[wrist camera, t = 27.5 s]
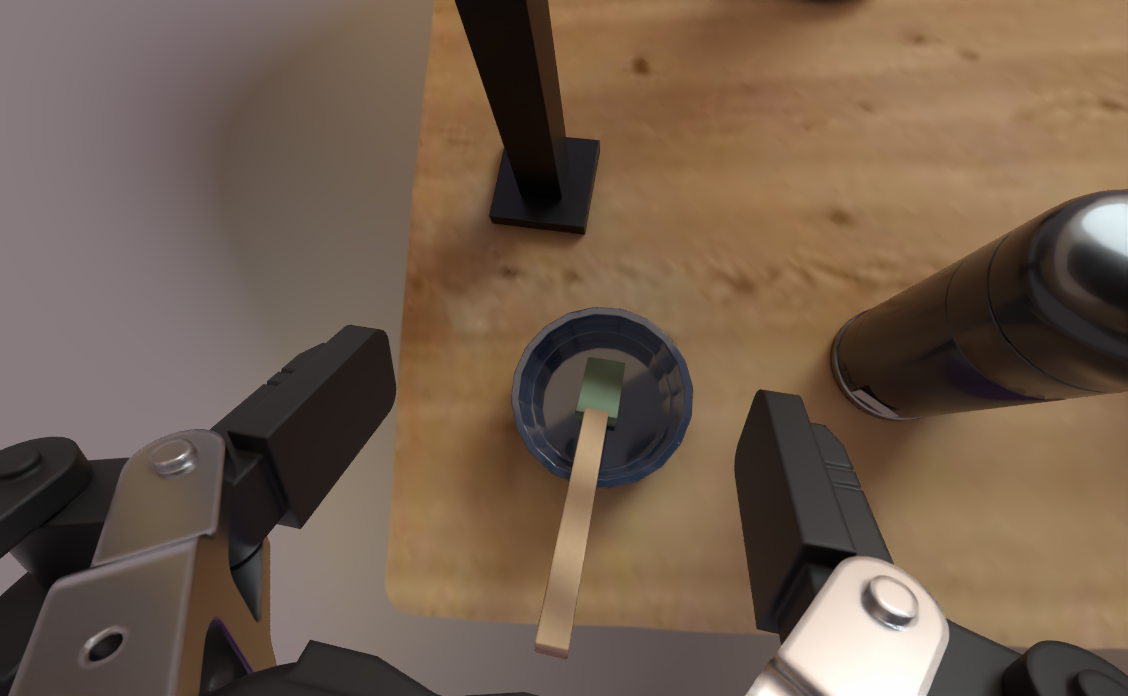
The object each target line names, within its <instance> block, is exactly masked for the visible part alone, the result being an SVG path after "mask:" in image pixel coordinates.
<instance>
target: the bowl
mask: <svg viewBox="0 0 1128 696" xmlns="http://www.w3.org/2000/svg"><path fill="white" fill-rule="evenodd" d="M588 357H593V358H599V359H605V360H611V361H617V362H623V363H625V370H624V376H623V383H622V389H621V396H620V403H619V409H618V416H617V422H616V427H612V426H606V432H605V438H604V444H603V450H602V456H601V462H600V468H599V473H598V479H597V485H596V487H599V488H612V487H616V486H621V485H625V484H630V483H635V482H637V481H639V480H641V479H642V478H644V477H646V476H647V475H649V474H651V473H652V472H654V471H656V470H657V469H659V468H661V467H662V466H663V465H664V464H665V463H666V461H667V460H668V459H669V458H670V457H671V455H672V454H673V453H674V452H675V451H676V450H677V448H678V447H679V446H680V444H681V443H682V440H683V438H684V435H685V433H686V430H687V427H688V425H689V422H690V420H691V416H692V399H693V386H692V382H691V379H690V375H689V372H688V368H687V364H686V361H685V359H684V358H683V356H682V355H681V353H680V352H679V350H678V349H677V347H676V346H675V344H674V343H673V341H672V340H671V338H670V337H669V336H668V335H667V334H666V333H664V332H663V331H662V330H661V329H659V328H658V327H657V326H656V325H654V324H653V323H652V322H651V321H649V320H648V319H646V318H644V317H641V316H639V315H636V314H633V313H631V312H628V311H626V310H623V309H614V308H600V307H595V308H594V307H593V308H588V309H584V310H580V311H575V312H571V313H568V314H566V315H564V316H562V317H561V318H559V319H557V320H556V321H554V322H552V323H550V324H549V325H547V326H545V327H544V328H543V329H542V330H541V331H540V332H539V333H538V335H537V336H536V337H535V338H534V339H533V340H532V341H531V342H530V343H529V344H528V346H527V347H526V348H525V350H524V352H523V355H522V357H521V359H520V361H519V363H518V365H517V368H516V370H515V372H514V379H513V387H512V395H511V403H512V408H513V413H514V419H515V424H516V427H517V430H518V432H519V434H520V435H521V437H522V439H523V441H524V443H525V445H526V446H527V448H528V450H529V452H530V453H531V454H532V455H533V456H534V457H535V458H536V459H537V460H538V461H539V462H540V463H541V464H542V465H544V466H545V467H546V468H547V469H548V470H549V471H550V472H552V473H553V474H555V475H557V476H559V477H562V478H564V479H566V480H568V481H570V476H571V471H572V467H573V462H574V457H575V453H576V448H577V443H578V439H579V434H580V429H581V425H582V421H579V420H575V413H576V407H577V403H578V399H579V394H580V390H581V386H582V381H583V377H584V373H585V368H586V364H587V360H588Z"/></svg>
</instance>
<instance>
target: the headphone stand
mask: <svg viewBox="0 0 1128 696" xmlns="http://www.w3.org/2000/svg"><path fill="white" fill-rule="evenodd" d="M455 2H456V5H457V8H458V11H459V14H460V17H461V20H462V23H463V26H464V29H465V32H466V35H467V38H468V41H469V44H470V47H471V50H472V53H473V56H474V59H475V62H476V65H477V68H478V71H479V74H480V77H481V80H482V83H483V85H484V88H485V91H486V94H487V97H488V100H489V103H490V106H491V109H492V112H493V115H494V118H495V121H496V124H497V127H498V130H499V133H500V136H501V139H502V142H503V145H504V151H503V156H502V160H501V165H500V169H499V174H498V178H497V183H496V187H495V192H494V196H493V201H492V205H491V210H490V214H489V217H490V219H491V221H492V223H495V224H504V225H512V226H520V227H528V228H537V229H545V230H553V231H561V232H569V233H578V234H585V232H586V226H587V221H588V215H589V209H590V204H591V198H592V192H593V187H594V181H595V176H596V170H597V164H598V159H599V153H600V141H599V140H590V139H579V138H569V137H566V134H565V126H564V119H563V111H562V104H561V96H560V89H559V81H558V73H557V66H556V58H555V51H554V43H553V36H552V28H551V21H550V13H549V6H548V0H455Z"/></svg>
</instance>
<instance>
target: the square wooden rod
mask: <svg viewBox="0 0 1128 696" xmlns="http://www.w3.org/2000/svg"><path fill="white" fill-rule="evenodd" d="M624 370H625V363H623V362H617V361H611V360H605V359H599V358H593V357H588V360H587V364H586V368H585V373H584V377H583V381H582V386H581V390H580V394H579V399H578V403H577V407H576V413H575V420H579V421H582V425H581V429H580V434H579V439H578V443H577V448H576V453H575V457H574V462H573V467H572V471H571V476H570V481H569V485H568V490H567V495H566V499H565V504H564V509H563V513H562V518H561V522H560V527H559V532H558V536H557V541H556V546H555V550H554V555H553V560H552V564H551V569H550V574H549V578H548V583H547V588H546V592H545V597H544V602H543V606H542V611H541V616H540V620H539V625H538V629H537V634H536V639H535V651H536V652H538V653H542V654H546V655H550V656H554V657H558V658H562V659H567V658H568V652H569V646H570V640H571V634H572V628H573V622H574V616H575V610H576V604H577V598H578V592H579V586H580V581H581V575H582V569H583V563H584V557H585V551H586V545H587V539H588V533H589V527H590V521H591V515H592V509H593V503H594V497H595V491H596V485H597V479H598V473H599V468H600V462H601V456H602V450H603V444H604V438H605V432H606V426H612V427H616V422H617V416H618V409H619V403H620V396H621V389H622V383H623V376H624Z"/></svg>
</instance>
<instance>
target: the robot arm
mask: <svg viewBox="0 0 1128 696" xmlns="http://www.w3.org/2000/svg"><path fill="white" fill-rule="evenodd" d="M831 365H832V370H833V374H834V377H835V379H836V382H837V384H838V386H839V387H840V389H841V390H842V392H843V393H844V394H845V396H846V397H847V398H848V399H849V400H850V401H851V402H852V403H853V404H855V405H856V406H857V407H859V408H860V409H861V410H863V411H865V412H867V413H869V414H871V415H873V416H876V417H879V418H882V419H887V420H900V421H901V420H911V419H918V418H922V417H925V416H934V415H943V414H951V413H960V412H968V411H976V410H984V409H992V408H1000V407H1009V406H1017V405H1025V404H1033V403H1041V402H1049V401H1058V400H1065V399H1072V398H1080V397H1088V396H1096V395H1104V394H1112V393H1120V392H1128V189H1122V190H1107V191H1100V192H1096V193H1091V194H1087V195H1084V196H1080V197H1077V198H1074V199H1071V200H1068V201H1066V202H1064V203H1062V204H1060V205H1058V206H1056V207H1053V208H1051V209H1049V210H1047V211H1046V212H1044V213H1042V214H1040V215H1038V216H1037V217H1035V218H1033V219H1031V220H1030V221H1028V222H1026V223H1024V224H1023V225H1021V226H1019V227H1017V228H1015V229H1014V230H1012V231H1010V232H1008V233H1006V234H1005V235H1003V236H1001V237H999V238H997V239H996V240H994V241H992V242H990V243H988V244H987V245H985V246H983V247H981V248H979V249H978V250H976V251H975V252H973V253H971V254H969V255H968V256H966V257H964V258H962V259H960V260H959V261H957V262H955V263H953V264H951V265H950V266H948V267H946V268H944V269H942V270H941V271H939V272H937V273H935V274H933V275H932V276H930V277H928V278H926V279H924V280H923V281H921V282H919V283H917V284H915V285H914V286H912V287H910V288H908V289H906V290H905V291H903V292H901V293H899V294H897V295H896V296H894V297H892V298H890V299H888V300H887V301H885V302H883V303H881V304H879V305H877V306H876V307H874V308H872V309H869V310H867V311H864V312H862V313H860V314H859V315H857V316H855V317H853V318H852V319H851V320H849V321H848V322H847V323H846V324H845V325H844V326H843V327H842V328H841V329H840V331H839V332H838V334H837V336H836V338H835V340H834V343H833V346H832V351H831ZM395 396H396V382H395V376H394V370H393V364H392V358H391V352H390V346H389V340H388V336H387V334H386V332H384V331H383V330H380V329H374V328H367V327H361V326H354V325H347V326H345V327H344V328H343V329H342V330H340V331H339V332H338V333H337V334H336V335H335V336H334V337H332V338H331V339H330V340H329V341H328V342H327V343H322V344H320V345H317V346H315V347H313V348H311V349H309V350H307V351H305V352H303V353H301V354H299V355H298V356H296V357H295V358H294V359H293V360H292V361H290V362H289V363H288V364H287V365H286V366H285V367H283V368H282V371H281V372H278V373H276V374H275V375H274V376H273V377H272V378H270V379H269V380H268V381H267V384H266V385H265V384H263V385H262V386H261V387H260V388H258V389H257V390H256V391H255V392H254V393H253V394H251V395H250V396H249V397H248V398H247V399H245V400H244V401H243V402H242V403H241V404H240V405H238V406H237V407H236V408H235V409H234V410H233V411H231V412H230V413H229V414H228V415H227V416H225V417H224V418H223V419H222V420H221V421H219V422H218V423H217V424H216V425H215V426H213V427H212V428H211V429H210V430H204V429H194V430H186V431H180V432H177V433H173V434H170V435H167V436H164V437H162V438H160V439H157V440H155V441H153V442H152V443H150V444H148V445H146V446H145V447H143V448H142V449H140V450H139V451H138V452H137V453H135V454H134V455H133V456H132V457H131V458H118V459H103V460H87V458H86V457H85V456H84V454H83V453H82V451H81V450H80V448H79V447H78V445H77V444H76V443H75V442H74V441H73V440H71V439H68V438H64V437H45V438H38V439H33V440H29V441H25V442H22V443H19V444H16V445H13V446H10V447H8V448H5V449H3V450H0V558H2V557H3V556H4V555H5V554H6V553H8V552H10V553H11V554H12V555H13V556H14V558H16V559H17V561H18V562H19V563H20V564H21V565H22V566H23V567H24V568H25V569H26V570H27V571H28V572H27V573H26V574H25V575H24V576H22V577H21V578H20V579H19V580H18V581H17V582H16V583H14V584H13V585H12V586H11V587H10V588H9V589H8V590H6V591H5V592H4V593H3V594H2V595H1V596H0V696H440V695H437V694H436V693H434V692H432V691H430V690H429V689H427V688H426V687H424V686H423V685H421V684H420V683H418V682H416V681H415V680H413V679H412V678H410V677H409V676H407V675H406V674H404V673H402V672H401V671H399V670H398V669H396V668H395V667H393V666H391V665H390V664H388V663H387V662H385V661H383V660H382V659H381V658H379V657H378V656H374V655H370V654H366V653H362V652H358V651H354V650H350V649H346V648H341V647H337V646H333V645H329V644H325V643H321V642H317V641H313V640H310V641H309V643H308V644H307V646H306V647H305V649H304V651H303V652H302V654H301V656H300V657H299V659H298V661H297V662H294V663H288V664H283V665H278V666H277V664H276V659H275V655H274V652H273V648H272V643H271V636H270V543H269V540H268V538H267V535H268V534H269V532H270V531H271V530H272V529H273V528H274V526H275V525H276V524H279V525H284V526H289V527H294V528H298V529H301V528H302V527H303V526H304V524H305V523H306V522H307V520H308V519H309V518H310V516H311V515H312V514H313V512H314V511H315V510H316V508H317V507H318V506H319V504H320V503H321V502H322V500H323V499H324V498H325V497H326V495H327V494H328V492H329V491H330V490H331V489H332V487H333V486H334V485H335V483H336V482H337V481H338V479H339V478H340V476H341V475H342V474H343V473H344V471H345V470H346V469H347V468H348V466H349V465H350V464H351V462H352V461H353V460H354V458H355V457H356V456H357V454H358V453H359V452H360V450H361V449H362V448H363V446H364V445H365V444H366V442H367V441H368V440H369V438H370V437H371V436H372V435H373V433H374V432H375V431H376V429H377V428H378V427H379V425H380V424H381V423H382V421H383V420H384V419H385V417H386V416H387V415H388V413H389V412H390V410H391V408H392V406H393V404H394V401H395ZM734 470H735V480H736V487H737V494H738V501H739V508H740V515H741V522H742V529H743V536H744V543H745V550H746V557H747V564H748V571H749V578H750V585H751V592H752V599H753V606H754V613H755V620H756V627H757V629H759V630H763V631H768V632H772V633H777V634H779V636H780V641H781V648H780V649H779V651H778V652H777V653H776V655H775V656H774V658H773V659H771V660H770V661H769V662H768V664H767V665H766V666H765V668H764V669H763V671H762V672H761V673H760V675H759V676H758V678H757V679H756V681H755V682H754V683H753V685H752V686H751V688H750V689H749V691H748V692H747V693H746V695H745V696H1128V676H1127V675H1126V674H1125V673H1123V672H1122V671H1121V670H1119V669H1118V668H1117V667H1115V666H1114V665H1112V664H1110V663H1109V662H1107V661H1106V660H1104V659H1102V658H1101V657H1099V656H1097V655H1095V654H1093V653H1091V652H1089V651H1087V650H1085V649H1082V648H1080V647H1078V646H1075V645H1072V644H1069V643H1065V642H1060V641H1042V642H1038V643H1037V644H1035V645H1033V646H1032V647H1031V648H1029V649H1028V650H1027V651H1026V652H1025V653H1024V654H1020V653H1018V652H1015V651H1013V650H1011V649H1009V648H1007V647H1005V646H1003V645H1000V644H998V643H996V642H994V641H992V640H990V639H988V638H985V637H983V636H981V635H979V634H977V633H975V632H972V631H970V630H968V629H966V628H964V627H962V626H960V625H958V624H956V623H954V622H952V621H950V620H949V619H947V618H946V617H945V615H944V613H943V611H942V609H941V607H940V606H939V604H938V602H937V601H936V600H935V598H934V597H933V596H932V595H931V593H930V592H929V591H928V590H927V589H926V588H925V587H924V586H923V585H922V584H921V583H920V582H918V581H917V580H916V579H915V578H914V577H912V576H911V575H909V574H908V573H907V572H905V571H904V570H902V569H900V568H898V567H897V566H895V565H894V563H893V561H892V559H891V556H890V554H889V552H888V549H887V547H886V544H885V542H884V540H883V537H882V535H881V533H880V530H879V528H878V525H877V523H876V521H875V518H874V516H873V514H872V511H871V509H870V507H869V504H868V502H867V499H866V497H865V495H864V492H863V491H861V490H860V487H861V485H860V483H859V480H858V478H857V476H856V473H855V472H853V466H852V464H851V461H850V459H849V457H848V454H847V452H846V450H845V447H844V445H843V444H842V443H841V442H840V441H839V440H838V439H837V438H836V437H835V436H834V435H833V433H832V432H831V431H830V430H829V429H828V428H827V427H826V426H825V425H821V424H815V423H810V420H809V417H808V415H807V412H806V409H805V406H804V403H803V401H802V398H801V397H800V396H799V395H793V394H787V393H780V392H774V391H767V390H761V389H760V390H758V391H757V393H756V395H755V397H754V399H753V402H752V405H751V408H750V411H749V414H748V416H747V419H746V422H745V425H744V428H743V431H742V434H741V436H740V439H739V442H738V445H737V449H736V455H735V465H734ZM469 696H537V695H533V694H529V693H525V692H519V693H502V694H487V695H469Z"/></svg>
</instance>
